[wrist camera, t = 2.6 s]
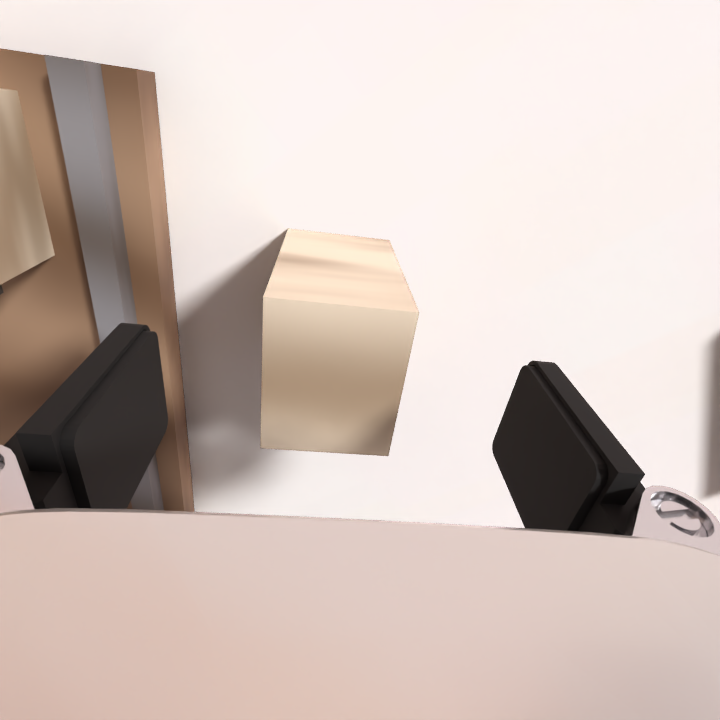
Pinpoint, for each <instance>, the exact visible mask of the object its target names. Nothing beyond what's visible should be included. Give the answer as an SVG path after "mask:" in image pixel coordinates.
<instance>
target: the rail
mask: <svg viewBox="0 0 720 720" xmlns="http://www.w3.org/2000/svg"><path fill="white" fill-rule="evenodd" d="M120 323H131V324H142V325H147V326H148V327H149V329H150V331H154V332H156V333H157V336H158V342H159V350H160V358H161V366H162V374H163V382H164V389H165V397H166V405H167V413H168V426H167V430H166V432H165V434H164V436H163V438H162V440H161V442H160V444H159V446H158V448H157V450H156V452H155V454H154V456H153V458H152V460H151V462H150V464H149V466H148V468H147V470H146V472H145V474H144V476H143V478H142V480H141V482H140V483H139V485H138V487H137V489H136V491H135V493H134V495H133V497H132V499H131V501H130V503H129V505H128V507H127V509H140V510H164V511H188V512H194V501H193V490H192V479H191V468H190V457H189V446H188V435H187V424H186V413H185V402H184V391H183V380H182V369H181V358H180V347H179V336H178V325H177V314H176V303H175V292H174V281H173V270H172V259H171V248H170V237H169V226H168V215H167V204H166V193H165V182H164V171H163V160H162V149H161V138H160V127H159V116H158V105H157V94H156V83H155V72H149V71H144V70H138V69H132V68H125V67H119V66H112V65H105V64H99V63H93V62H88V61H82V60H75V59H69V58H62V57H55V56H49V55H39V54H33V53H26V52H20V51H13V50H7V49H0V445H3V446H4V445H5V444H6V443H7V442H8V441H9V439H10V438H11V437H12V436H13V435H14V434H15V433H16V432H17V431H18V430H19V429H20V428H21V427H22V426H23V424H24V423H25V422H26V421H27V420H28V419H29V418H30V417H31V416H32V415H33V414H34V413H35V412H36V411H37V410H38V409H39V408H40V407H41V406H42V404H43V403H44V402H45V401H46V400H47V399H48V398H49V397H50V396H51V395H52V394H53V393H54V392H55V391H56V390H57V389H58V388H59V387H60V386H61V385H62V383H63V382H64V381H65V380H66V379H67V378H68V377H69V376H70V375H71V374H72V373H73V372H74V371H75V370H76V369H77V368H78V367H79V366H80V365H81V364H82V362H83V361H84V360H85V359H86V358H87V357H88V356H89V355H90V354H91V353H92V352H93V351H94V350H95V349H96V348H97V347H98V346H99V345H100V344H101V342H102V341H103V340H104V339H105V338H106V337H107V336H108V335H109V334H110V333H111V332H112V331H113V330H114V329H115V328H116V327H117V326H118V325H119V324H120Z"/></svg>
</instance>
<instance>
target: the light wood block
mask: <svg viewBox="0 0 720 720" xmlns="http://www.w3.org/2000/svg"><path fill="white" fill-rule="evenodd" d="M418 316H419V311H418V308H417V306H416V303H415V301H414V299H413V296H412V294H411V291H410V289H409V287H408V284H407V282H406V279H405V277H404V274H403V272H402V270H401V267H400V265H399V262H398V260H397V258H396V255H395V253H394V250H393V248H392V246H391V243H390V241H389V240H383V239H374V238H366V237H357V236H349V235H340V234H332V233H323V232H315V231H306V230H297V229H289V228H288V230H287V233H286V236H285V238H284V241H283V244H282V247H281V249H280V252H279V255H278V258H277V260H276V263H275V266H274V269H273V271H272V274H271V277H270V280H269V282H268V285H267V288H266V290H265V293H264V296H263V330H262V384H261V438H260V448H264V449H280V450H297V451H313V452H330V453H346V454H362V455H379V456H388V455H389V450H390V446H391V441H392V436H393V432H394V427H395V422H396V418H397V413H398V409H399V404H400V399H401V395H402V390H403V385H404V381H405V376H406V371H407V367H408V362H409V358H410V353H411V348H412V344H413V339H414V334H415V330H416V325H417V320H418Z"/></svg>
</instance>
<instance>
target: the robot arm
mask: <svg viewBox="0 0 720 720" xmlns="http://www.w3.org/2000/svg"><path fill="white" fill-rule="evenodd" d="M167 426H168V413H167V405H166V397H165V389H164V382H163V374H162V366H161V358H160V350H159V342H158V336H157V333H156V332H154V331H150V329H149V327H148V326H147V325H142V324H131V323H120V324H119V325H118V326H117V327H116V328H115V329H114V330H113V331H112V332H111V333H110V334H109V335H108V336H107V337H106V338H105V339H104V340H103V341H102V342H101V344H100V345H99V346H98V347H97V348H96V349H95V350H94V351H93V352H92V353H91V354H90V355H89V356H88V357H87V358H86V359H85V360H84V361H83V362H82V364H81V365H80V366H79V367H78V368H77V369H76V370H75V371H74V372H73V373H72V374H71V375H70V376H69V377H68V378H67V379H66V380H65V381H64V382H63V383H62V385H61V386H60V387H59V388H58V389H57V390H56V391H55V392H54V393H53V394H52V395H51V396H50V397H49V398H48V399H47V400H46V401H45V402H44V403H43V404H42V406H41V407H40V408H39V409H38V410H37V411H36V412H35V413H34V414H33V415H32V416H31V417H30V418H29V419H28V420H27V421H26V422H25V423H24V424H23V426H22V427H21V428H20V429H19V430H18V431H17V432H16V433H15V434H14V435H13V436H12V437H11V438H10V439H9V441H8V442H7V443H6V444H5V445H4V446H3V445H0V720H720V523H719V521H718V520H717V518H716V517H715V516H714V515H713V514H712V513H711V512H710V511H709V510H708V509H707V508H706V507H705V506H704V505H702V504H701V503H700V502H698V501H697V500H696V499H694V498H692V497H690V496H689V495H687V494H685V493H683V492H681V491H678V490H676V489H673V488H669V487H665V486H651V487H648V488H646V489H645V488H644V486H643V485H642V484H641V483H640V481H641V480H642V478H643V477H644V475H645V474H644V472H643V471H642V470H641V469H640V467H639V466H638V465H637V464H636V462H635V461H634V460H633V459H632V457H631V456H630V455H629V454H628V453H627V451H626V450H625V449H624V448H623V446H622V445H621V444H620V443H619V441H618V440H617V439H616V438H615V436H614V435H613V434H612V433H611V431H610V430H609V429H608V428H607V427H606V425H605V424H604V423H603V422H602V420H601V419H600V418H599V417H598V415H597V414H596V413H595V412H594V410H593V409H592V408H591V407H590V405H589V404H588V403H587V402H586V400H585V399H584V398H583V397H582V396H581V394H580V393H579V392H578V391H577V389H576V388H575V387H574V386H573V384H572V383H571V382H570V381H569V379H568V378H567V377H566V376H565V374H564V373H563V372H562V371H561V369H560V368H559V367H558V366H557V365H556V364H555V363H552V362H541V361H531V362H530V363H529V364H528V365H525V366H523V367H522V368H521V370H520V373H519V375H518V378H517V380H516V383H515V386H514V388H513V391H512V393H511V396H510V399H509V401H508V404H507V407H506V409H505V412H504V414H503V417H502V420H501V422H500V425H499V427H498V430H497V433H496V435H495V438H494V440H493V446H492V450H493V454H494V457H495V459H496V462H497V464H498V466H499V469H500V471H501V473H502V476H503V478H504V480H505V482H506V485H507V487H508V489H509V492H510V494H511V496H512V499H513V501H514V503H515V506H516V508H517V510H518V513H519V515H520V517H521V520H522V522H523V524H524V527H525V528H511V527H493V526H475V525H457V524H439V523H420V522H400V521H381V520H361V519H341V518H320V517H300V516H278V515H255V514H233V513H210V512H188V511H164V510H140V509H127V507H128V505H129V503H130V501H131V499H132V497H133V495H134V493H135V491H136V489H137V487H138V485H139V483H140V482H141V480H142V478H143V476H144V474H145V472H146V470H147V468H148V466H149V464H150V462H151V460H152V458H153V456H154V454H155V452H156V450H157V448H158V446H159V444H160V442H161V440H162V438H163V436H164V434H165V432H166V430H167Z"/></svg>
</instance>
